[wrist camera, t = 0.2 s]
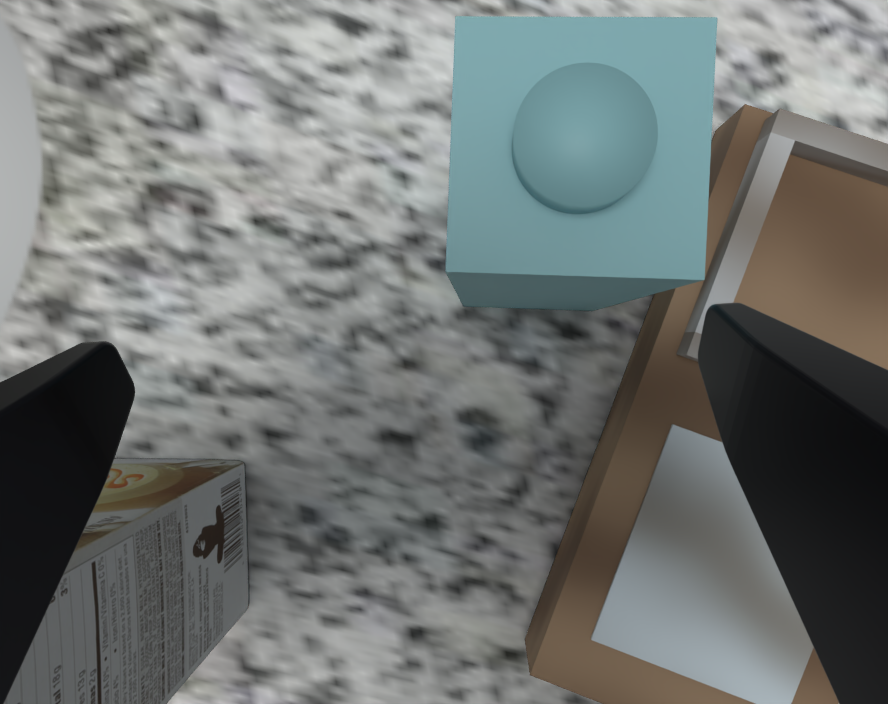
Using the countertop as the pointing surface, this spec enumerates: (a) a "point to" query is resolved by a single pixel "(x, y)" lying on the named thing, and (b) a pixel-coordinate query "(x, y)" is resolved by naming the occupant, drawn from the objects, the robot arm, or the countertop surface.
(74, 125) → the countertop surface
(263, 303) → the countertop surface
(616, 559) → the walnut base plate
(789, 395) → the robot arm
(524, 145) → the teal pillar
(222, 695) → the countertop surface
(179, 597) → the coffee box
